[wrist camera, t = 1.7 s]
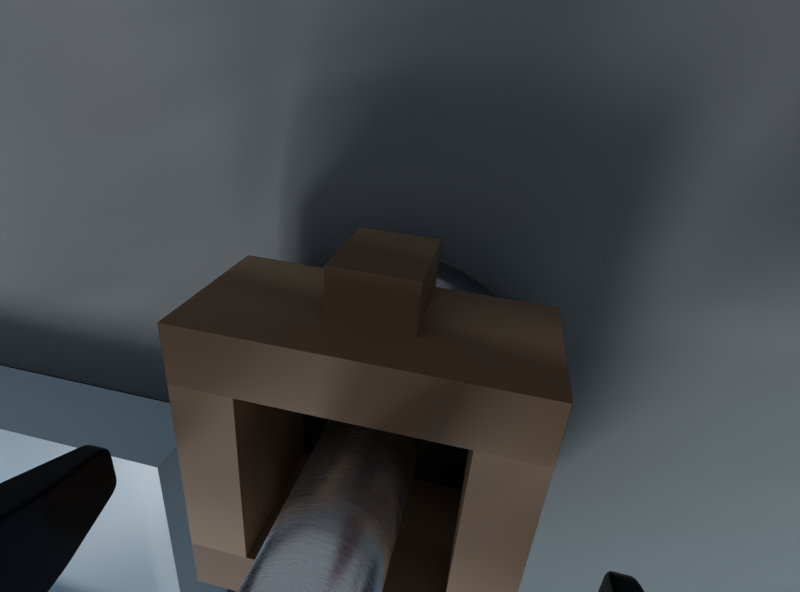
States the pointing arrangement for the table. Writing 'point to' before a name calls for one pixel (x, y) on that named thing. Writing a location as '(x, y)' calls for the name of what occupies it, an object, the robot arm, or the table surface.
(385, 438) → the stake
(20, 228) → the table surface
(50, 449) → the tray
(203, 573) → the ring
